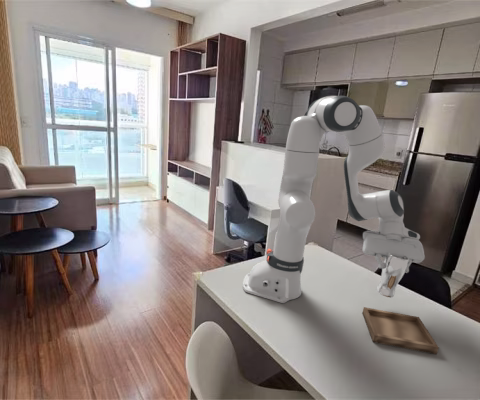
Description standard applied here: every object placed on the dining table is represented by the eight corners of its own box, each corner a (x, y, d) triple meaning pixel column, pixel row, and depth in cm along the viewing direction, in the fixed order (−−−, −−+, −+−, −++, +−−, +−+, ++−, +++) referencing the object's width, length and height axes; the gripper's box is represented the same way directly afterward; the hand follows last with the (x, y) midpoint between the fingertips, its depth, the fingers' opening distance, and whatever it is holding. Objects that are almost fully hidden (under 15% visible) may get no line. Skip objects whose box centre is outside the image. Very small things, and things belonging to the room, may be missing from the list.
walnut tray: (372, 342, 88) (374, 335, 88) (362, 313, 102) (363, 307, 101) (436, 354, 86) (438, 347, 85) (416, 323, 99) (418, 317, 99)
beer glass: (397, 300, 101) (412, 262, 97) (376, 294, 102) (390, 256, 98) (392, 290, 108) (406, 254, 104) (372, 284, 109) (385, 248, 105)
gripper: (365, 226, 107) (365, 262, 101) (424, 235, 104) (429, 272, 98) (360, 232, 113) (360, 267, 106) (416, 241, 110) (419, 277, 103)
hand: (393, 270), depth 102 cm, fingers closed on beer glass, 6 cm apart
